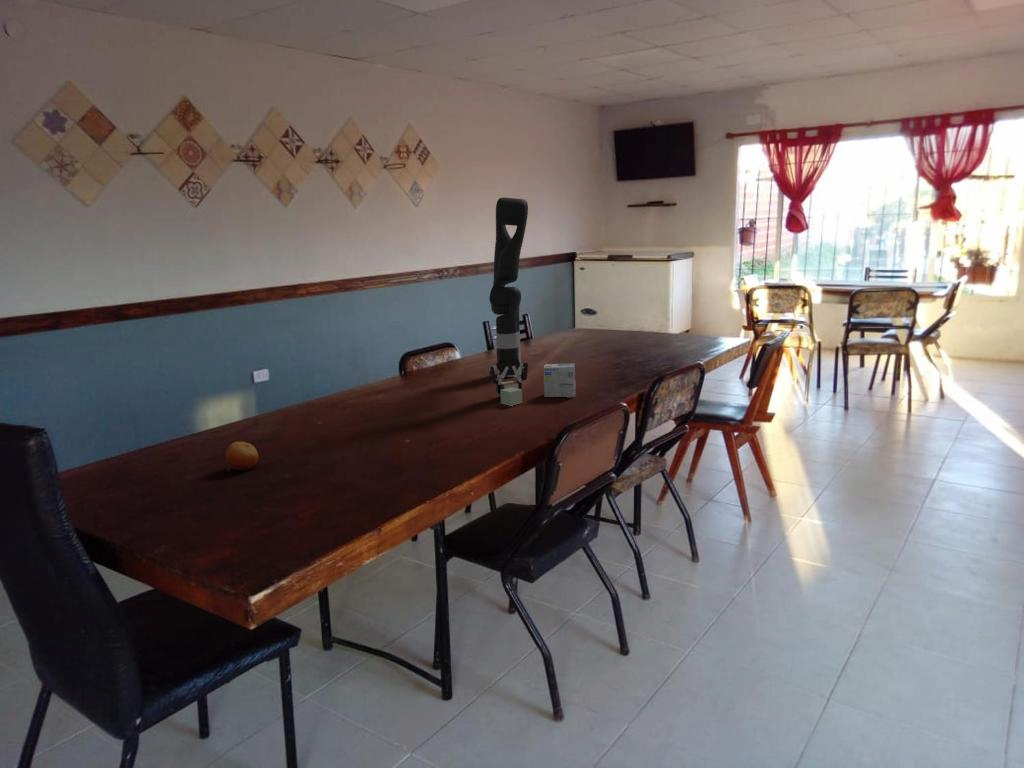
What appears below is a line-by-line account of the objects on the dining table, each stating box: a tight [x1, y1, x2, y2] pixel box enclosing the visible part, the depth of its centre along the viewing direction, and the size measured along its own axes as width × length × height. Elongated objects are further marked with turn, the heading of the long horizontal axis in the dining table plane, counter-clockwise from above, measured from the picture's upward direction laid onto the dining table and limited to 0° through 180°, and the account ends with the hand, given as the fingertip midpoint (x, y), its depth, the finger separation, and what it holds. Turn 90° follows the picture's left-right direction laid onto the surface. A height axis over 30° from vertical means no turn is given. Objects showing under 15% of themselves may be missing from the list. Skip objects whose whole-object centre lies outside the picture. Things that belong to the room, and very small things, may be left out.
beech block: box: [501, 380, 518, 390], centre depth 255 cm, size 5×5×5 cm
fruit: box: [224, 441, 260, 472], centre depth 188 cm, size 8×8×8 cm
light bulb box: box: [542, 363, 576, 398], centre depth 254 cm, size 11×7×11 cm, turn 84°
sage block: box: [500, 388, 523, 407], centre depth 245 cm, size 5×5×5 cm
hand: (509, 393), depth 256 cm, fingers open, 6 cm apart
